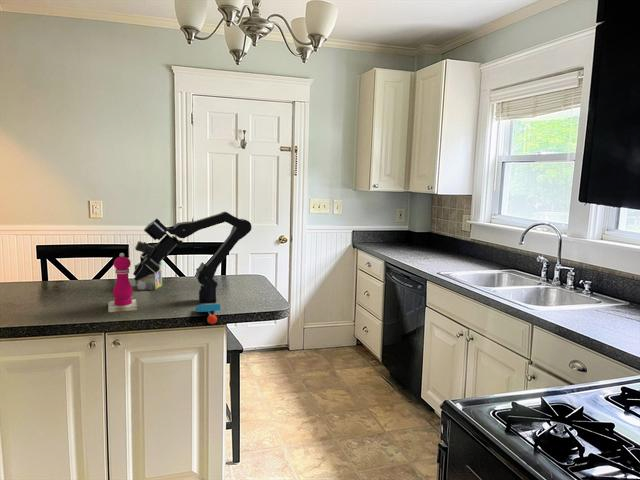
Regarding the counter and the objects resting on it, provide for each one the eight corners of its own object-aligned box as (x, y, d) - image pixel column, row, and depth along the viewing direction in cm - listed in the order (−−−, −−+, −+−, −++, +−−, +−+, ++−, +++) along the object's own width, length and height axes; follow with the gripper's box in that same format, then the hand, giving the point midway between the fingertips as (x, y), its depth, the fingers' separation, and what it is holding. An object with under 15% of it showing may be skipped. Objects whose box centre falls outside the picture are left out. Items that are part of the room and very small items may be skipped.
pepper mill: (128, 306, 177) (127, 254, 174) (109, 305, 177) (108, 254, 174) (136, 301, 184) (135, 251, 182) (117, 300, 184) (116, 250, 181)
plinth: (135, 303, 187) (135, 299, 187) (137, 310, 178) (137, 306, 178) (108, 305, 183) (108, 301, 183) (108, 312, 174) (108, 308, 174)
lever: (196, 323, 179) (203, 325, 162) (195, 305, 180) (202, 305, 163) (214, 322, 182) (222, 323, 165) (213, 304, 182) (222, 303, 166)
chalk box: (162, 286, 217) (162, 254, 215) (155, 290, 208) (154, 258, 206) (142, 285, 217) (142, 253, 215) (134, 290, 208) (134, 257, 206)
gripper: (146, 231, 189) (117, 259, 186) (149, 237, 172) (118, 268, 169) (166, 249, 194) (139, 277, 191) (172, 257, 177) (142, 287, 174)
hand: (134, 277), depth 181 cm, fingers open, 9 cm apart
